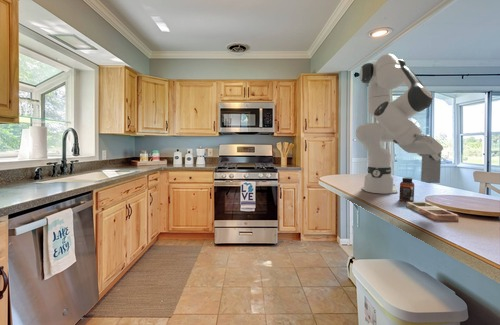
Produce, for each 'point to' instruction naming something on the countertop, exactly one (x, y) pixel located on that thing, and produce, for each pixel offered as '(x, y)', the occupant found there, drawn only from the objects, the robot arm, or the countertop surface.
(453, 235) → the countertop surface
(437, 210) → the wooden tray
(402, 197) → the supplement bottle
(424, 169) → the graphite peg
